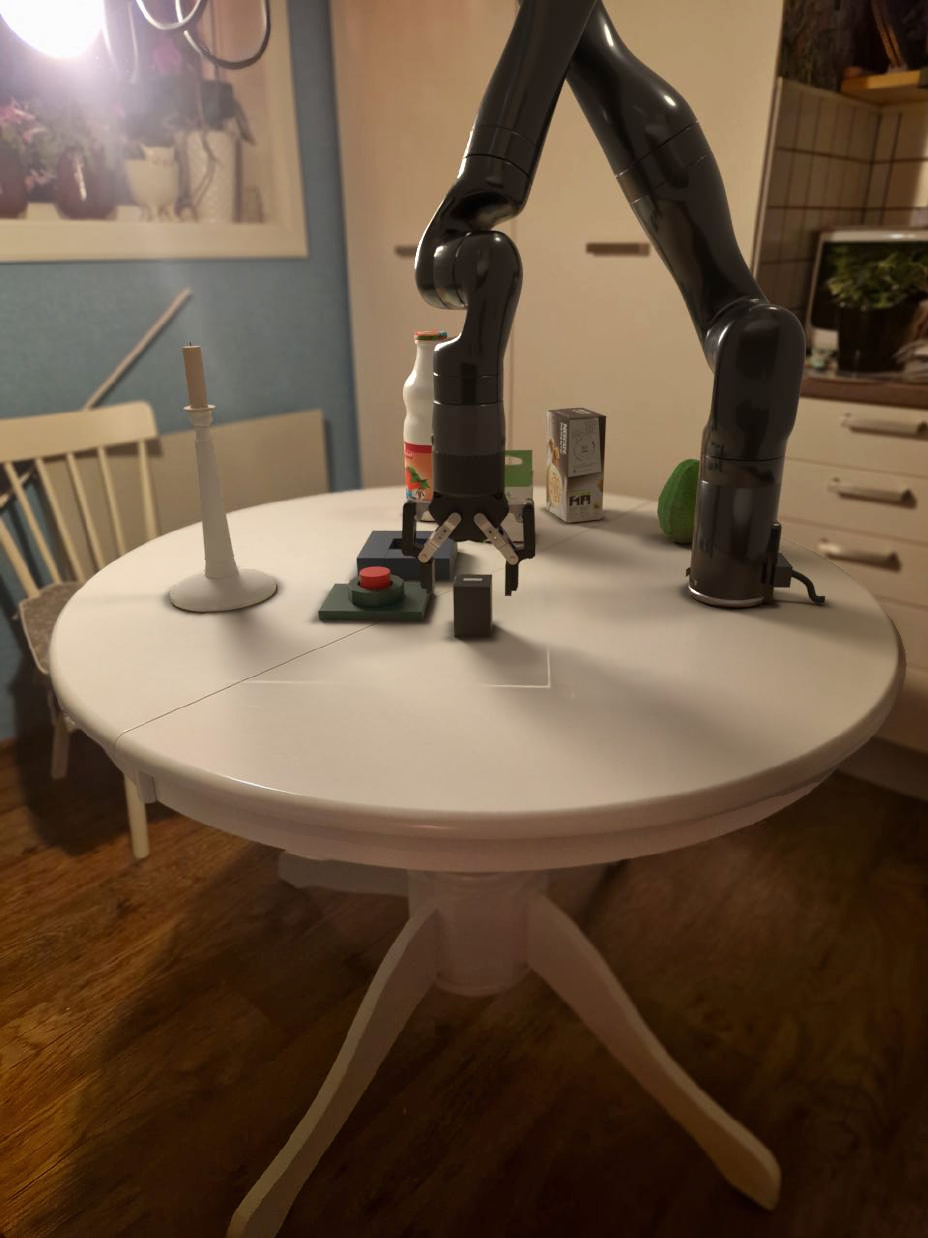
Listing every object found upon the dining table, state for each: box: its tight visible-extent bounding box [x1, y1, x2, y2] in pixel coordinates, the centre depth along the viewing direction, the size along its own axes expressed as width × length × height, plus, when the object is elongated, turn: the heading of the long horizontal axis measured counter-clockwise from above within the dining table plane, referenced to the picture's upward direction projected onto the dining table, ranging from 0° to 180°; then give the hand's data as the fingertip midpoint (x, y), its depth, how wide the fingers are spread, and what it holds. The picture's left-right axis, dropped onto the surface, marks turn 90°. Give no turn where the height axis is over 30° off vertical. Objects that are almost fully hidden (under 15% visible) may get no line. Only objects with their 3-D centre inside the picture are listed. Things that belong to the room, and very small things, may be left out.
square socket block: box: [356, 530, 459, 581], centre depth 116 cm, size 12×12×3 cm
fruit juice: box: [402, 330, 448, 522], centre depth 134 cm, size 9×9×28 cm
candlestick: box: [169, 341, 277, 613], centre depth 102 cm, size 13×13×30 cm
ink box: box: [484, 449, 534, 542], centre depth 124 cm, size 7×4×13 cm, turn 84°
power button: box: [359, 567, 391, 589], centre depth 102 cm, size 4×4×2 cm
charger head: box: [452, 573, 493, 639], centre depth 95 cm, size 4×4×6 cm
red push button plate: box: [317, 574, 431, 622], centre depth 102 cm, size 12×9×3 cm
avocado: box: [656, 458, 700, 545], centre depth 122 cm, size 8×8×12 cm
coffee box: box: [545, 407, 607, 524], centre depth 135 cm, size 9×6×16 cm
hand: (469, 592), depth 94 cm, fingers open, 8 cm apart
